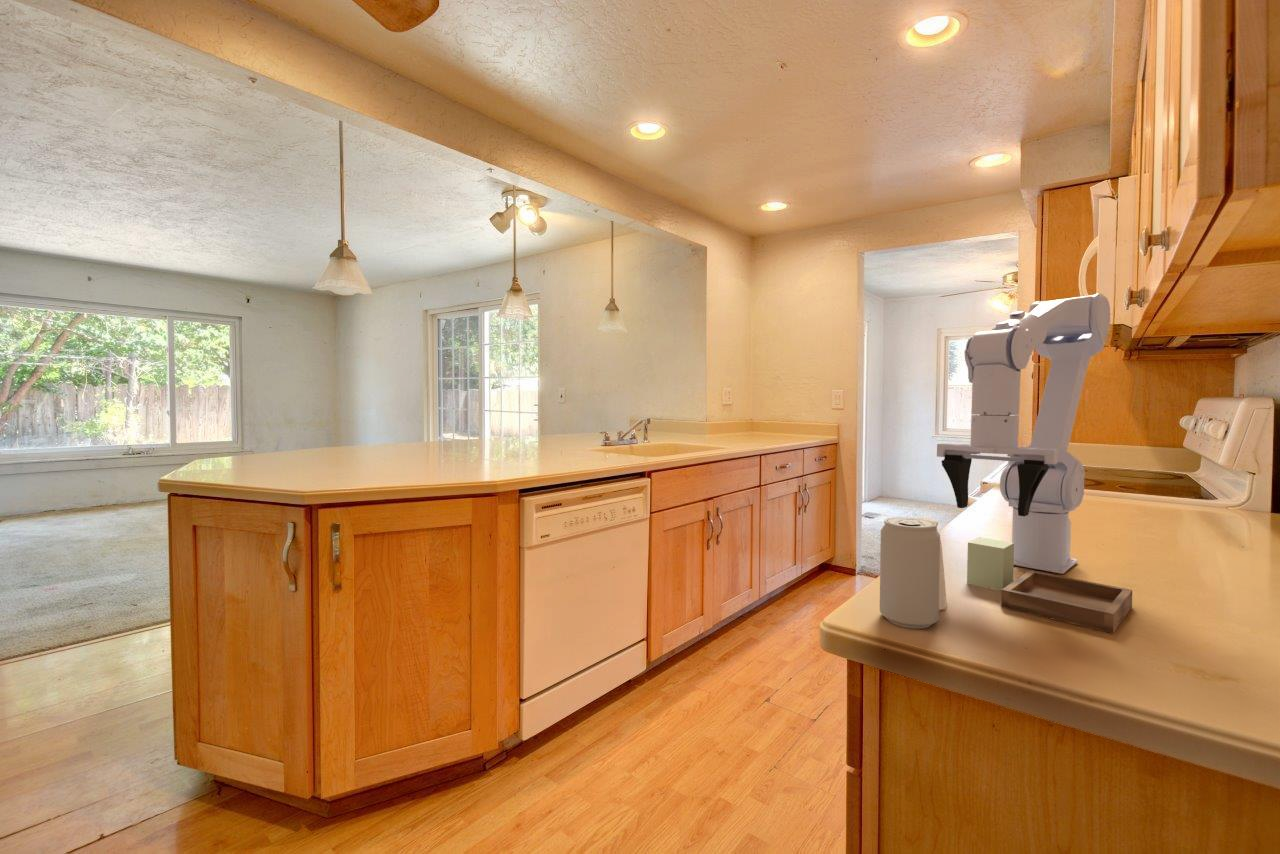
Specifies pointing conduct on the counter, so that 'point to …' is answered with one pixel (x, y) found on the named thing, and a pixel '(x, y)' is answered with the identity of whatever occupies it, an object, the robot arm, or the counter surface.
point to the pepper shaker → (940, 576)
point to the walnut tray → (1068, 600)
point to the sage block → (990, 563)
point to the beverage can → (909, 572)
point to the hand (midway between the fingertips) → (991, 511)
